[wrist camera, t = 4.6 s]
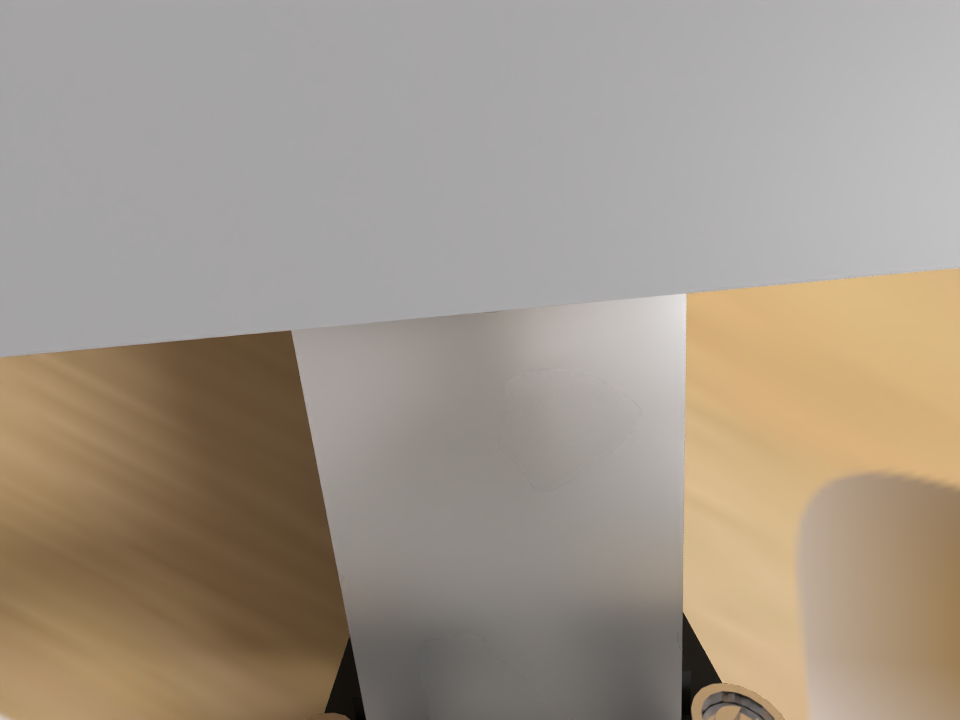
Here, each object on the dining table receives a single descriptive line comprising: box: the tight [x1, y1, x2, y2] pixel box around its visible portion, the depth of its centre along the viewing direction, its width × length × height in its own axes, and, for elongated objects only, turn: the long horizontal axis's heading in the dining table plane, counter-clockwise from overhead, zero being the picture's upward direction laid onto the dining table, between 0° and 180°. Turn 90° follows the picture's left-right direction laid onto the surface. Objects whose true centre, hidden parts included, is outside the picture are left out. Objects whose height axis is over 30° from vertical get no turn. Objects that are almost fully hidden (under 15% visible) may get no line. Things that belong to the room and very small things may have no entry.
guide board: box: [0, 0, 960, 357], centre depth 8 cm, size 24×8×9 cm, turn 5°
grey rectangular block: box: [291, 293, 686, 720], centre depth 8 cm, size 16×4×6 cm, turn 5°
